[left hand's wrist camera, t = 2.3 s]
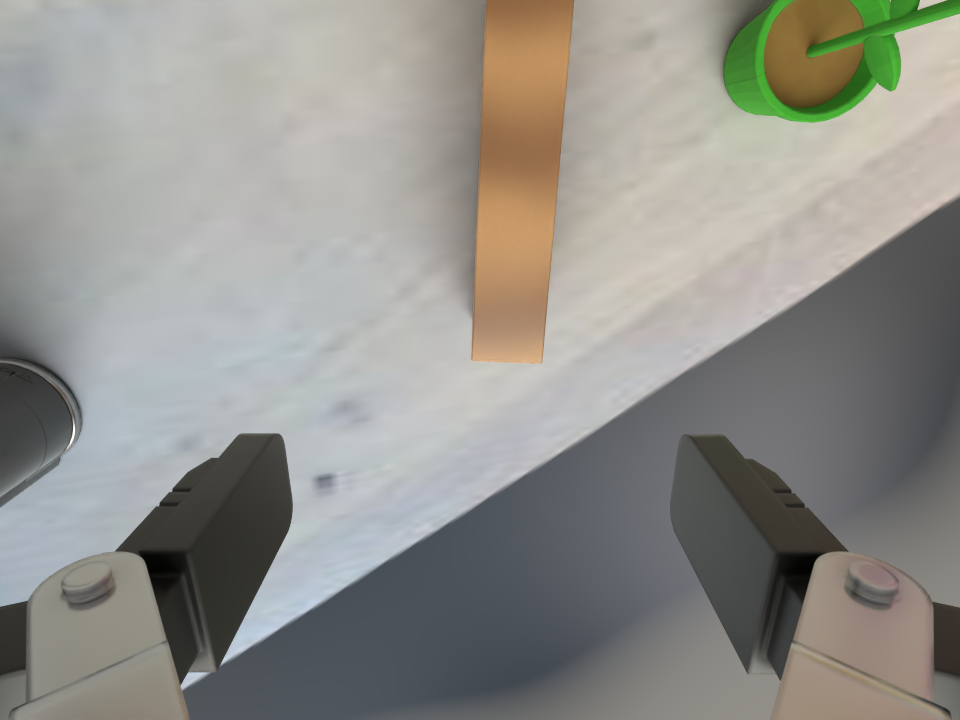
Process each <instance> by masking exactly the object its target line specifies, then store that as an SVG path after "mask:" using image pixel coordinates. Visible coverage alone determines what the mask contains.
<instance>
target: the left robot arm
mask: <svg viewBox="0 0 960 720" xmlns="http://www.w3.org/2000/svg"><path fill="white" fill-rule="evenodd" d="M80 430H81V416H80V411H79V408H78V405H77V403H76V401H75V399H74V397H73V395H72V394H71V392H70V391H69V390H68V388H67V387H66V386H65V385H64V384H63V383H62V382H61V381H60V380H59V379H58V378H57V377H56V376H54V375H53V374H52V373H50V372H49V371H47V370H46V369H44V368H42V367H40V366H38V365H36V364H34V363H31V362H28V361H25V360H20V359H15V358H0V508H1V507H2V506H3V505H5V504H6V503H7V502H9V501H10V500H11V499H13V498H14V497H16V496H17V495H18V494H20V493H21V492H22V491H24V490H25V489H26V488H28V487H29V486H31V485H32V484H33V483H35V482H36V481H37V480H39V479H40V478H41V477H43V476H44V475H45V474H47V473H48V472H50V471H51V470H52V469H54V468H55V467H56V466H58V465H59V458H60V457H61V456H62V455H63V454H65V453H66V452H67V451H69V450H70V449H71V448H72V447H73V446H74V444H75V443H76V441H77V439H78V437H79V434H80ZM292 510H293V502H292V494H291V486H290V479H289V472H288V465H287V458H286V451H285V444H284V440H283V438H282V436H281V435H280V434H239V435H238V436H237V437H236V438H235V439H234V441H233V442H232V443H231V444H230V445H229V446H228V447H227V449H226V450H225V451H224V452H223V453H222V454H221V456H220V457H219V458H211V459H209V460H207V461H206V462H204V463H202V464H201V465H199V466H197V467H196V468H194V469H192V470H191V471H189V472H188V473H187V474H186V475H185V476H184V477H183V478H182V479H181V480H180V481H179V482H178V483H177V484H176V486H175V487H174V488H173V491H172V492H169V493H168V494H167V495H166V496H165V498H164V499H163V500H162V501H161V502H160V505H159V506H156V507H155V508H154V509H153V511H152V512H151V513H150V514H149V515H148V516H147V517H146V518H145V519H144V520H143V521H142V523H141V524H140V525H139V526H138V527H137V528H136V529H135V530H134V531H133V532H132V533H131V534H130V536H129V537H128V538H127V539H126V540H125V541H124V542H123V543H122V544H121V545H120V546H119V548H118V549H117V550H116V551H115V552H108V553H102V554H97V555H93V556H90V557H87V558H84V559H81V560H79V561H76V562H74V563H72V564H70V565H68V566H66V567H64V568H62V569H60V570H59V571H57V572H55V573H54V574H53V575H51V576H50V577H48V578H47V579H46V580H45V581H43V582H42V583H41V584H40V585H39V586H38V587H37V588H36V589H35V591H34V592H33V593H32V595H31V596H30V598H29V600H28V601H25V602H21V603H16V604H11V605H7V606H2V607H0V720H190V719H189V715H188V711H187V708H186V704H185V701H184V697H183V693H182V690H181V686H180V685H181V684H182V682H183V680H184V678H185V677H186V675H187V673H188V672H217V670H218V668H219V666H220V664H221V662H222V660H223V658H224V656H225V654H226V652H227V650H228V648H229V647H230V645H231V643H232V641H233V639H234V637H235V635H236V633H237V631H238V629H239V627H240V625H241V623H242V621H243V619H244V617H245V615H246V613H247V611H248V609H249V607H250V605H251V603H252V601H253V599H254V597H255V595H256V594H257V592H258V590H259V588H260V586H261V584H262V582H263V580H264V578H265V576H266V574H267V572H268V570H269V568H270V566H271V564H272V562H273V560H274V558H275V556H276V554H277V552H278V550H279V548H280V546H281V544H282V542H283V540H284V539H285V537H286V535H287V533H288V530H289V527H290V524H291V519H292ZM670 512H671V521H672V525H673V529H674V532H675V534H676V536H677V538H678V540H679V542H680V543H681V545H682V547H683V549H684V551H685V553H686V555H687V557H688V559H689V561H690V563H691V565H692V567H693V569H694V571H695V573H696V575H697V577H698V578H699V580H700V582H701V584H702V586H703V588H704V590H705V592H706V594H707V596H708V598H709V600H710V602H711V604H712V606H713V608H714V610H715V611H716V613H717V615H718V617H719V619H720V621H721V623H722V625H723V627H724V629H725V631H726V633H727V635H728V637H729V639H730V641H731V643H732V644H733V646H734V648H735V650H736V652H737V654H738V656H739V658H740V660H741V662H742V664H743V666H744V668H745V670H746V672H747V674H777V676H778V678H779V679H780V681H781V683H780V686H779V690H778V693H777V697H776V701H775V704H774V708H773V711H772V715H771V718H770V720H960V608H959V607H954V606H949V605H945V604H940V603H935V602H932V600H931V598H930V596H929V595H928V593H927V592H926V591H925V589H924V588H923V587H922V586H921V585H920V584H919V583H918V582H916V581H915V580H914V579H913V578H912V577H910V576H909V575H907V574H906V573H905V572H903V571H901V570H900V569H898V568H896V567H894V566H892V565H890V564H888V563H886V562H884V561H881V560H879V559H876V558H873V557H870V556H867V555H863V554H858V553H852V552H848V550H847V549H846V548H845V547H844V546H843V545H842V544H841V543H840V542H839V541H838V540H837V539H836V538H835V536H834V535H833V534H832V533H831V532H830V531H829V530H828V529H827V528H826V527H825V526H824V525H823V524H822V522H821V521H820V520H819V519H818V518H817V517H816V516H815V515H814V514H813V513H812V512H811V511H810V510H809V508H805V506H804V503H803V502H802V501H801V500H800V499H799V498H798V497H797V496H796V494H794V493H792V492H791V489H790V488H789V487H788V486H787V485H786V484H785V483H784V482H783V480H782V479H781V478H780V477H779V476H778V475H777V474H776V473H775V472H773V471H771V470H770V469H768V468H766V467H765V466H763V465H761V464H760V463H758V462H756V461H755V460H753V459H745V458H744V457H743V456H742V455H741V454H740V452H739V451H738V450H737V449H736V448H735V447H734V446H733V444H732V443H731V442H730V441H729V440H728V439H727V438H726V437H725V436H724V435H721V434H685V435H683V436H682V437H681V439H680V441H679V445H678V452H677V459H676V466H675V473H674V480H673V487H672V494H671V502H670Z"/></svg>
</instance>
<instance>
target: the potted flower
mask: <svg viewBox="0 0 960 720" xmlns="http://www.w3.org/2000/svg"><path fill="white" fill-rule="evenodd" d="M919 2H920V0H891V3H890V0H774V1H773V2H772V3H771V5H770V6H769V7H768V8H767V9H766V10H765V11H764V12H762V13H761V14H760V15H758V16H757V17H756V18H755V19H753V20H752V21H751V22H749V23H748V24H747V25H746V26H745V27H744V28H743V29H742V30H741V31H740V32H739V33H738V34H737V36H736V37H735V38H734V40H733V42H732V44H731V45H730V47H729V50H728V53H727V55H726V60H725V65H724V80H725V86H726V89H727V91H728V94H729V96H730V97H731V99H732V100H733V102H734V103H735V104H736V105H737V106H738V107H739V108H741V109H743V110H744V111H746V112H749V113H752V114H756V115H769V116H778V117H780V118H783V119H786V120H790V121H798V122H810V123H813V122H821V121H826V120H829V119H832V118H835V117H838V116H840V115H842V114H843V113H845V112H847V111H849V110H851V109H852V108H853V107H855V106H856V105H857V104H858V103H860V102H861V101H862V100H863V99H864V98H865V97H866V96H867V95H868V94H869V93H870V92H871V90H872V89H873V88H874V87H875V85H876V84H877V83H878V84H879V85H881V86H882V87H884V88H885V89H887V90H889V91H893V90H895V89H896V87H897V84H898V82H899V78H900V72H901V58H900V52H899V47H898V45H897V42H896V39H895V37H894V35H895V33H897V32H900V31H903V30H907V29H910V28H913V27H917V26H920V25H923V24H927V23H930V22H933V21H937V20H940V19H943V18H947V17H950V16H953V15H957V14H960V0H947V1H944V2H941V3H938V4H935V5H932V6H929V7H926V8H923V9H920V10H917V9H918V6H919Z"/></svg>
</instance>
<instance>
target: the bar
mask: <svg viewBox="0 0 960 720" xmlns="http://www.w3.org/2000/svg"><path fill="white" fill-rule="evenodd" d="M573 5H574V0H485V20H484V45H483V69H482V94H481V119H480V143H479V168H478V192H477V217H476V242H475V266H474V291H473V316H472V361H487V362H513V363H539V364H541V363H542V358H543V347H544V336H545V324H546V313H547V301H548V290H549V279H550V267H551V256H552V244H553V233H554V222H555V210H556V199H557V188H558V176H559V165H560V153H561V142H562V131H563V119H564V108H565V96H566V85H567V74H568V62H569V51H570V40H571V28H572V17H573Z"/></svg>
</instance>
